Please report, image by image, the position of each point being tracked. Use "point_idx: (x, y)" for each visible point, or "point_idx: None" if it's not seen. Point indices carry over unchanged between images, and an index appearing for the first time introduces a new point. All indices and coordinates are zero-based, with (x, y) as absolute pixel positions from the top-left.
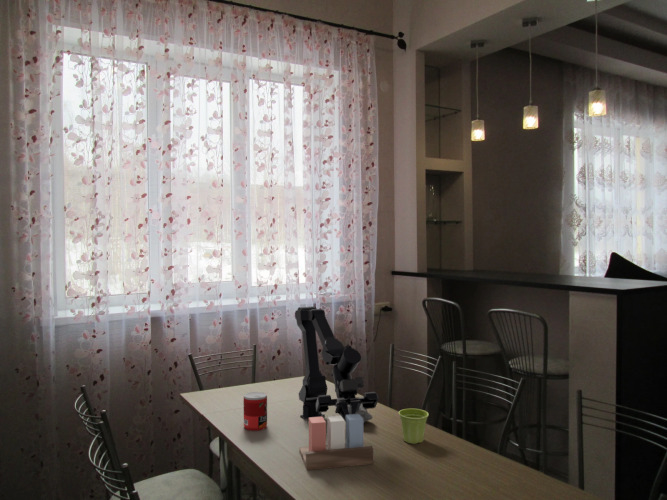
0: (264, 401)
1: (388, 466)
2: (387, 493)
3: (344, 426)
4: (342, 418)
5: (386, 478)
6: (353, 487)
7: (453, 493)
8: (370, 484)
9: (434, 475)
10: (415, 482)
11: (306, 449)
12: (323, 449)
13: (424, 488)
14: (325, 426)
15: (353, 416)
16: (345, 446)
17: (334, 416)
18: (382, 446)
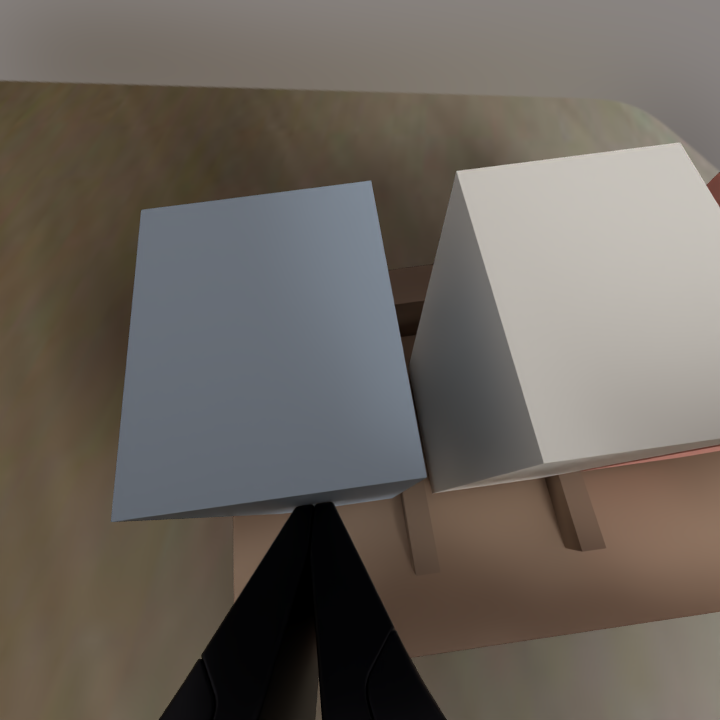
0: None
1: None
2: (261, 93)
3: (443, 233)
4: (495, 264)
5: (226, 193)
6: (385, 134)
7: (28, 86)
8: (310, 151)
9: (3, 206)
10: (118, 157)
11: (716, 535)
12: None
13: (109, 117)
14: (709, 185)
15: (274, 351)
16: (388, 572)
17: (673, 384)
18: (75, 653)
